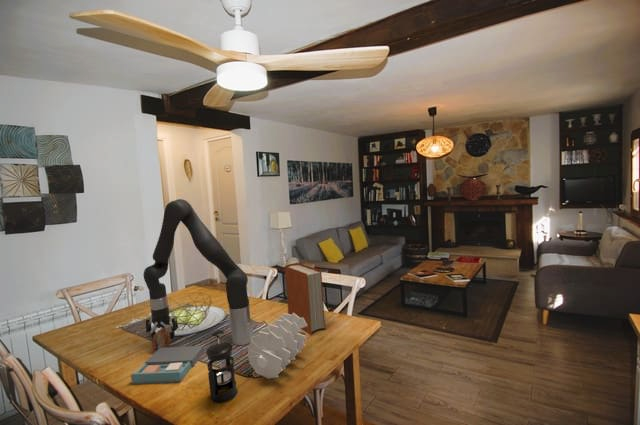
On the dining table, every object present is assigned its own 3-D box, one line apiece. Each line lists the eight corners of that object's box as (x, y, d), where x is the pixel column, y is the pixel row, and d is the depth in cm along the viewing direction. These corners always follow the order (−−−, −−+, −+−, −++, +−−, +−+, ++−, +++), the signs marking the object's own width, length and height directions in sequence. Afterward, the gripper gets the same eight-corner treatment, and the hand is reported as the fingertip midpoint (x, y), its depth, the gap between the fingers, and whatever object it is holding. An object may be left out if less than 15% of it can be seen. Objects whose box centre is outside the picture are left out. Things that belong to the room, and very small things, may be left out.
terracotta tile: (161, 370, 135) (160, 364, 135) (154, 378, 130) (153, 372, 130) (149, 371, 135) (148, 365, 135) (142, 378, 130) (141, 372, 130)
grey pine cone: (254, 389, 126) (286, 353, 149) (290, 378, 119) (317, 342, 142) (232, 346, 127) (267, 317, 150) (266, 333, 120) (297, 304, 142)
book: (325, 330, 163) (321, 270, 160) (311, 335, 159) (306, 274, 156) (301, 316, 182) (297, 262, 179) (288, 320, 178) (283, 265, 175)
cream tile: (183, 368, 136) (182, 362, 136) (178, 375, 131) (177, 369, 131) (170, 369, 136) (170, 363, 136) (165, 376, 131) (164, 370, 131)
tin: (159, 354, 150) (156, 336, 150) (152, 354, 150) (150, 337, 150) (174, 338, 165) (172, 322, 164) (168, 339, 165) (166, 322, 165)
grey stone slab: (204, 352, 150) (203, 345, 149) (192, 367, 138) (192, 360, 137) (160, 354, 151) (159, 347, 150) (145, 369, 139) (144, 362, 138)
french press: (220, 383, 125) (214, 324, 123) (243, 386, 122) (237, 326, 120) (201, 404, 114) (194, 340, 111) (226, 407, 111) (219, 342, 109)
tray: (191, 367, 138) (190, 358, 137) (180, 382, 128) (179, 372, 127) (146, 369, 138) (145, 360, 138) (132, 384, 128) (131, 374, 128)
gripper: (178, 302, 159) (181, 335, 161) (149, 304, 160) (153, 336, 161) (170, 308, 152) (174, 342, 153) (140, 310, 152) (144, 344, 154)
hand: (163, 339), depth 157 cm, fingers open, 8 cm apart
